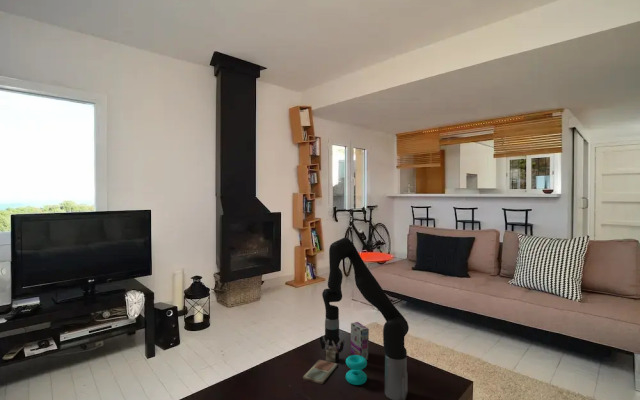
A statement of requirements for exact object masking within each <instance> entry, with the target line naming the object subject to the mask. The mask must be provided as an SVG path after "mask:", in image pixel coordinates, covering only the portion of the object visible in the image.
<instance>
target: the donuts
mask: <svg viewBox="0 0 640 400" xmlns="http://www.w3.org/2000/svg"><path fill="white" fill-rule="evenodd" d="M345 364H346V366H347V367H348V368H349V369H350V370H348V371H347V372H346V374H345V380H346V381H347V383H349V384H351V385H354V386H359V385H360V386H361V385H364V384H365V383H366V382H367V380H368V375H367V374H366V372H364V371H363V370H364V369H365V368H366V367H367V365H368V361H367V360H366V359H365V358H364V357H362V356H360V355H353V354H352V355H349V356H348V357H346V359H345Z"/></svg>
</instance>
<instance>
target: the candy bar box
mask: <svg viewBox="0 0 640 400" xmlns="http://www.w3.org/2000/svg"><path fill="white" fill-rule="evenodd" d="M369 332H370V331H369V328H368V327H367V326H365V325H363V324H362V323H360V322H358V321H355V322H351V323H350V353H351V354H352V355H360V356H362V357H364V358H365V359H366V360H369V342H370V341H369V336H370V335H369V334H370V333H369Z"/></svg>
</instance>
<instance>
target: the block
mask: <svg viewBox="0 0 640 400" xmlns="http://www.w3.org/2000/svg"><path fill="white" fill-rule="evenodd" d="M325 361H328V362H332V363H336V362H337V360H336V351H335V349H334V347H333V346H329V348H328V349H327V350H326V356H325Z"/></svg>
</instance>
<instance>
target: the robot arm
mask: <svg viewBox="0 0 640 400" xmlns="http://www.w3.org/2000/svg"><path fill="white" fill-rule="evenodd" d="M328 252H329V253H328V259H329V261H328V262H329V274H328V279H327V280H328V281H327V287H328V288H324V289H323V291H322V293H321V296H322V300H323V302H324V303H323V304H324V309H325V319H324V335H321V336H320V337H319V342H320V347H321V349H322V350H324V356H325V357H326V350H327V349H328V348H329V347H332V348H334V349H335V351H336V361H337V360H338V359H339V358H340V354H341V353H342V352H343V351H344V350H343V349H344V346H345V343H346V342H345V340H344V339H341V338H340V316H339V315H340V311H339V306H337V305H333V304H331V303H338V302H341V301H342V299H343V293H342V283H343V271H342V270H341V268H340V264H341V262H342V261H343V260H346V259H347V258H348V260H349V262H350V263H351V265H352V268H353V272H354V282H355V286H356V288H357V289H358V290H359V293H360V294H361V295H362V296H363V298H364V299H365V300H366V301H367V302H368V303H370V304H371V305H372V306H373V307H375V308H376V309H377V310H378V311H379V312H380V314H381V315H382V316H383V318H384V320H385V323H384V325H383V327H382V328H383V329H382V339H383V343H382V344H383V350H384V395H385V396H386V397H387V398H388V399H390V400H406V399H407V396H408V379H409V378H408V371H407V367H408V366H407V361H408V360H407V359H408V357H407V356H408V354H407V349H406V347H405V337H406V335H408V334H409V333H408V332H409V328H410V327H409V323H408V321H407V319H406V318H405V317H404V316H403V314H402V313H401V312H400V311H399V309H398V308H397V307H396V306H395V305H394V304H393V302H392V301H391V299H390V298H389V297H388V294H386V292H385V291H384V290H383V288H382V287H381V286H382V285H380V283H379V282H378V280H377V279H376V278H375V276H374V275H373V274H372V272H371V271H370V269H369V268H368V266H367V265H366V263H365V261H364V260H363V258H362V256H361V255H360V253H359V251H358V250H357V248H356V246H355V245H354V243H353V241H351V239H350V238H348V237H343V238H340V239H338V240H336V241H334V242H332V243H331V244H330V245H329V250H328Z"/></svg>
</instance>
